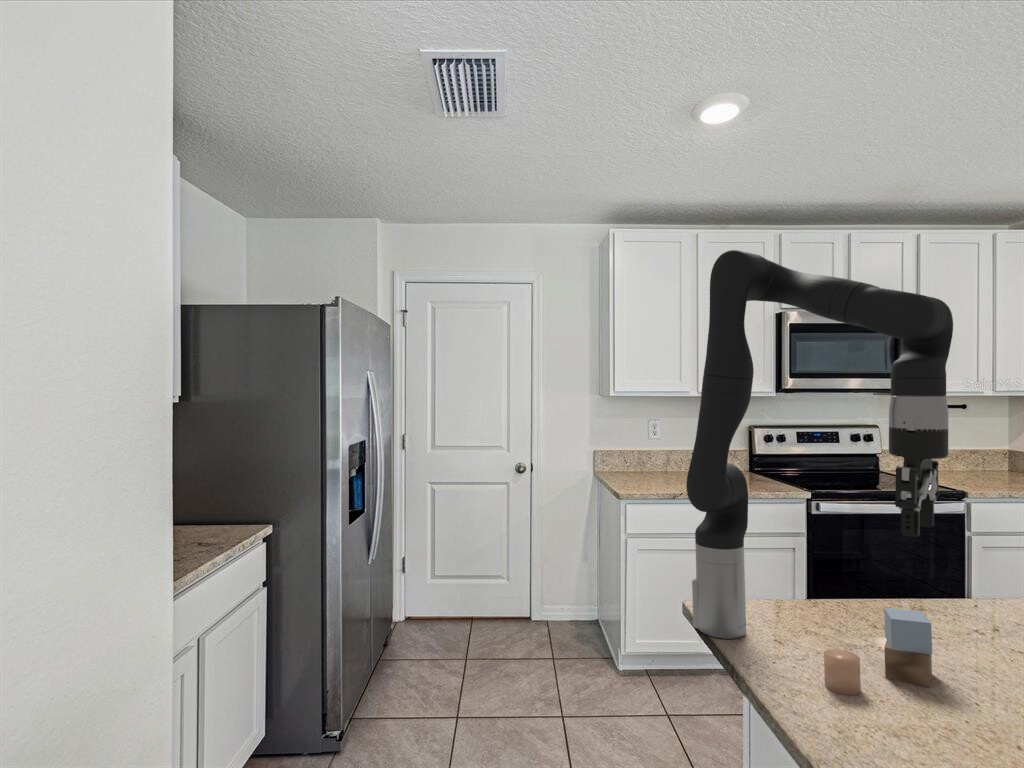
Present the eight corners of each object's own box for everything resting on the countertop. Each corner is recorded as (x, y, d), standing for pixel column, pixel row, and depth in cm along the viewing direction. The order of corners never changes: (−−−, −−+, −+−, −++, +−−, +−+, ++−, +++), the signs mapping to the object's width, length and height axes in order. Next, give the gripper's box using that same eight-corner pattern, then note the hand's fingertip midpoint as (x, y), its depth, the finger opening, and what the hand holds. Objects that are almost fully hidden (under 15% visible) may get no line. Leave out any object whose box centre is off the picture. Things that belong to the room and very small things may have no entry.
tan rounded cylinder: (819, 687, 93) (818, 655, 93) (831, 676, 96) (830, 646, 96) (854, 698, 89) (853, 665, 89) (865, 687, 93) (864, 655, 93)
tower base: (885, 678, 96) (884, 647, 96) (889, 664, 100) (888, 635, 101) (930, 688, 92) (929, 656, 92) (932, 674, 97) (930, 643, 97)
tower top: (891, 649, 95) (890, 618, 95) (885, 636, 100) (884, 607, 100) (932, 654, 93) (931, 623, 93) (923, 641, 98) (922, 611, 98)
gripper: (902, 422, 97) (902, 519, 97) (875, 426, 87) (875, 534, 87) (958, 424, 91) (958, 528, 91) (936, 429, 82) (936, 544, 82)
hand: (917, 531), depth 89 cm, fingers open, 8 cm apart
